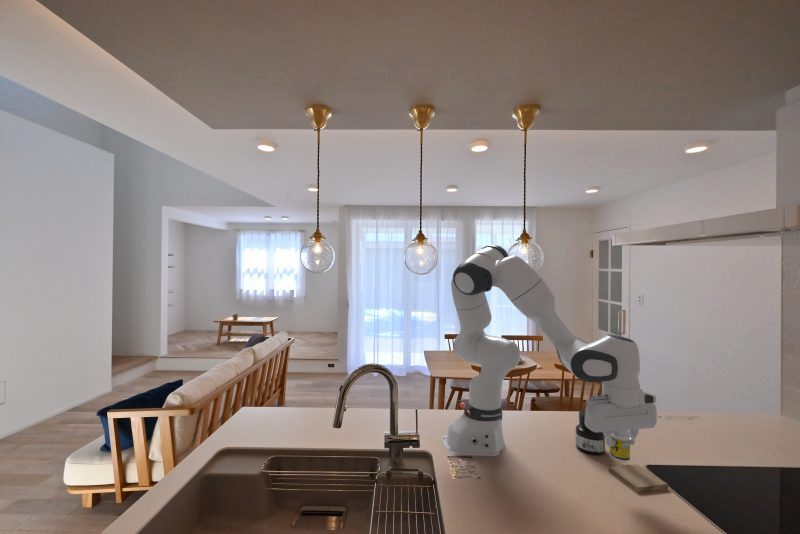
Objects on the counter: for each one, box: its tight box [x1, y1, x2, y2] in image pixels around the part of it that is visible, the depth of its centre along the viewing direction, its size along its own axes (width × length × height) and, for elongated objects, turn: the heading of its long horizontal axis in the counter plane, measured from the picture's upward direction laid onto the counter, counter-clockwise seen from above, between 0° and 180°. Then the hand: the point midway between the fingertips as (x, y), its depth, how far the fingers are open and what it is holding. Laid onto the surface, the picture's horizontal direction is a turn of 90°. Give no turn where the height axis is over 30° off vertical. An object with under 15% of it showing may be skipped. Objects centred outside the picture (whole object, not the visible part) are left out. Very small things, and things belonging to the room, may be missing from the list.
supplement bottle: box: [608, 430, 631, 463], centre depth 94 cm, size 5×5×8 cm
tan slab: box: [608, 463, 669, 494], centre depth 99 cm, size 10×10×2 cm
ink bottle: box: [575, 409, 606, 456], centre depth 117 cm, size 10×9×12 cm
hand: (620, 444), depth 94 cm, fingers closed on supplement bottle, 5 cm apart
